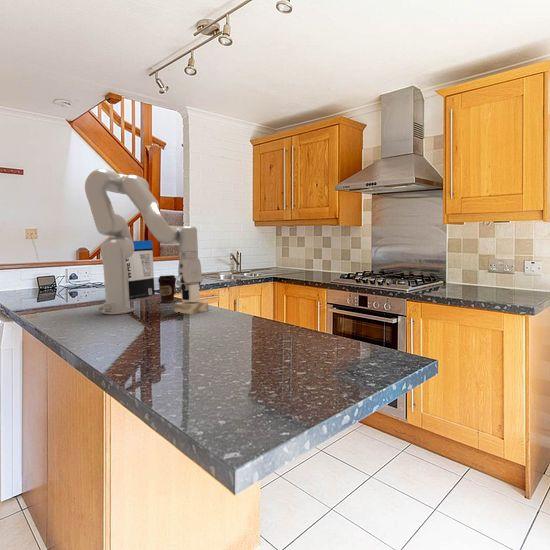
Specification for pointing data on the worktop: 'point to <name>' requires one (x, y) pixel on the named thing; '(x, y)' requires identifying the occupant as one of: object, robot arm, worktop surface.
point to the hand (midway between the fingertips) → (190, 298)
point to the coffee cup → (167, 288)
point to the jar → (193, 292)
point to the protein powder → (141, 270)
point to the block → (191, 307)
